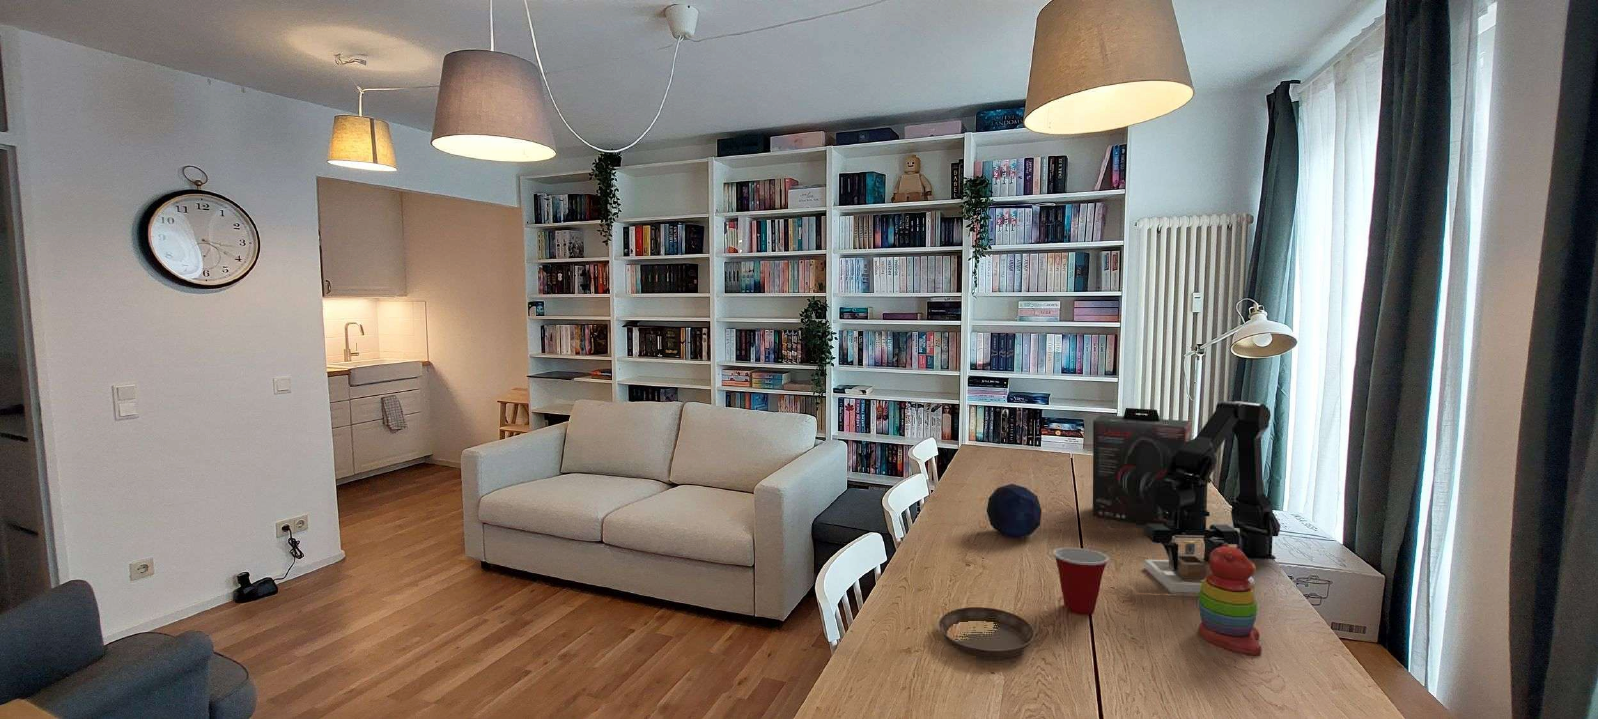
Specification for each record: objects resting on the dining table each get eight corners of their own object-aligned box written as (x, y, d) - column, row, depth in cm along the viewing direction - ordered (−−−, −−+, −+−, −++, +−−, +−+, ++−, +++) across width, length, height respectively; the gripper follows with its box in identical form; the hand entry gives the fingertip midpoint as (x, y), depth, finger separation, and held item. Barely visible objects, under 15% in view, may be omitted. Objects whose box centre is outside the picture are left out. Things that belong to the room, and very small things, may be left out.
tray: (1206, 570, 158) (1206, 560, 157) (1239, 596, 144) (1239, 585, 144) (1144, 569, 159) (1145, 559, 159) (1171, 594, 145) (1171, 583, 145)
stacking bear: (1262, 658, 119) (1266, 562, 117) (1196, 643, 124) (1199, 551, 123) (1258, 632, 128) (1262, 543, 127) (1197, 620, 133) (1200, 534, 132)
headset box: (1089, 516, 199) (1092, 407, 196) (1099, 506, 209) (1101, 402, 206) (1184, 532, 184) (1187, 414, 181) (1189, 520, 194) (1192, 408, 191)
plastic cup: (1104, 600, 143) (1105, 546, 142) (1110, 623, 133) (1111, 565, 132) (1051, 594, 146) (1051, 541, 145) (1052, 616, 136) (1053, 559, 135)
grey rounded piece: (1198, 555, 167) (1199, 536, 167) (1215, 567, 159) (1215, 547, 159) (1165, 554, 168) (1165, 535, 168) (1180, 566, 160) (1180, 547, 160)
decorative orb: (1058, 515, 184) (1025, 469, 188) (1046, 530, 171) (1011, 481, 175) (1016, 538, 191) (985, 493, 195) (1002, 555, 178) (969, 506, 182)
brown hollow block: (1211, 580, 148) (1212, 565, 148) (1181, 579, 148) (1182, 564, 148) (1194, 566, 155) (1195, 552, 155) (1166, 566, 156) (1166, 551, 156)
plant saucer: (931, 620, 136) (931, 606, 136) (1017, 619, 136) (1017, 604, 135) (949, 667, 118) (949, 650, 118) (1048, 665, 118) (1048, 649, 118)
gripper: (1216, 493, 157) (1214, 557, 158) (1134, 493, 159) (1133, 555, 160) (1243, 508, 146) (1240, 576, 147) (1154, 507, 148) (1153, 574, 149)
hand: (1189, 570), depth 151 cm, fingers open, 7 cm apart
